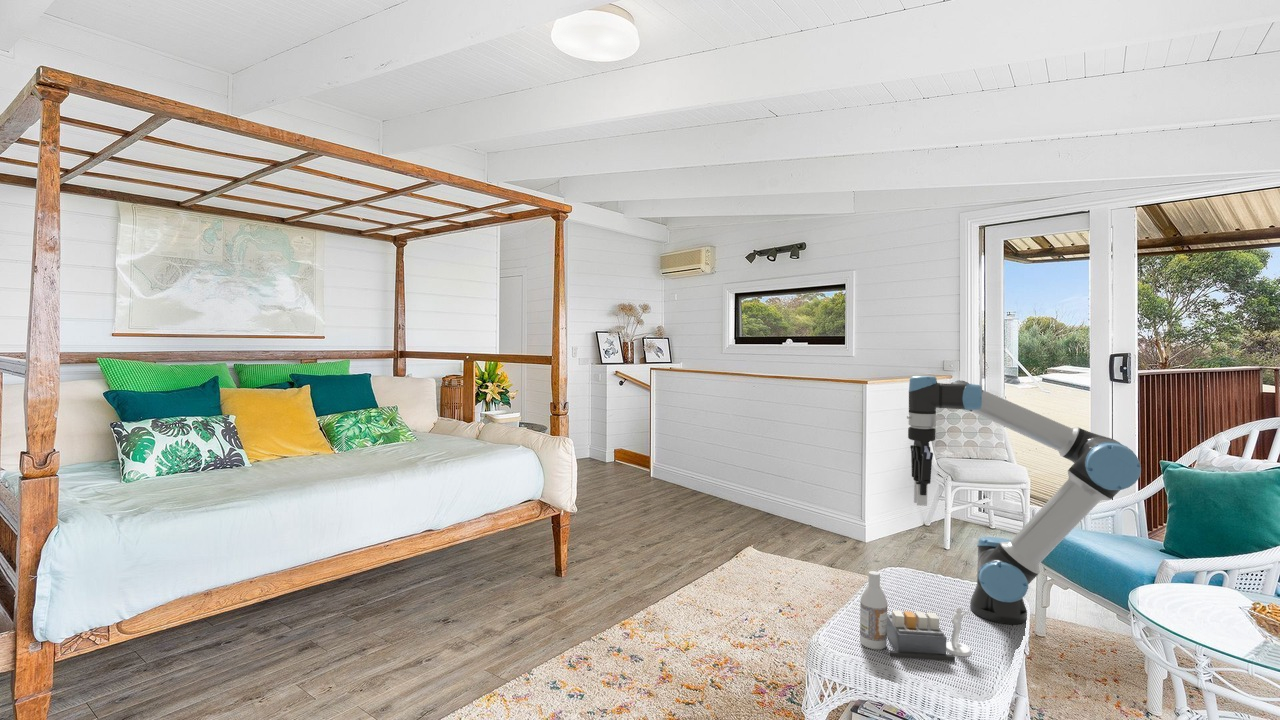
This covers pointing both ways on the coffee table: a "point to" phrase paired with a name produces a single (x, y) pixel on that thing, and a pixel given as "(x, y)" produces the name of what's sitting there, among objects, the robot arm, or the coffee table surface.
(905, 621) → the paddle
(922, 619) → the paddle
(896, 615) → the cream small block
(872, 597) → the bath foam
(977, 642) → the coffee table surface
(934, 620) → the cream rectangular block
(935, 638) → the breaker panel
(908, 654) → the dark grey slat
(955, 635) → the figurine
